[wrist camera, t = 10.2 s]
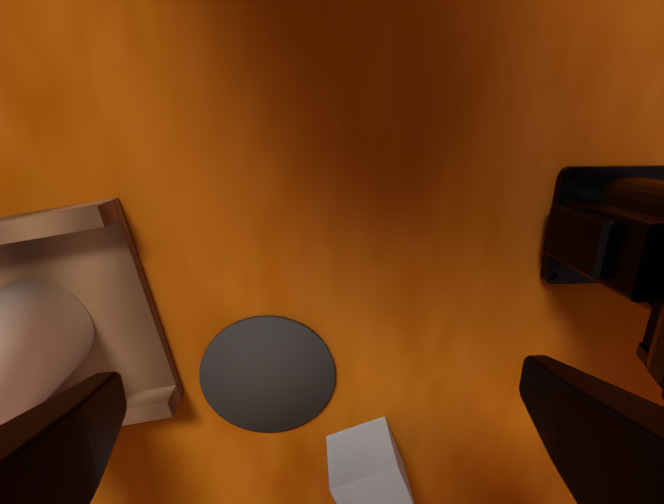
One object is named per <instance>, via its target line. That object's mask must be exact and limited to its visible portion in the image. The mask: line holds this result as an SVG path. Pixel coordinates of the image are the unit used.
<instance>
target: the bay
mask: <svg viewBox="0 0 664 504" xmlns="http://www.w3.org/2000/svg"><path fill="white" fill-rule="evenodd" d="M19 280H38V281H44V282H47V283H51V284H53V285H56V286H58V287H60V288H62V289H64V290H66V291H67V292H69V293H70V294H72V295H73V296H74V297H75V298H76V299H77V300H78V301H79V302H80V303H81V304H82V305H83V306H84V307H85V309H86V310H87V312H88V314H89V315H90V318H91V320H92V323H93V326H94V343H93V346H92V349H91V351H90V353H89V354H88V356H87V357H86V358H85V359H84V360H83V361H82V363H81V364H80V365H79V366H78V367H77V368H76V369H75V370H74V371H73V372H72V373H71V374H70V375H69V376H68V377H67V378H66V379H65V380H64V382H63V383H62V384H61V385H60V386H59V387H58V388H57V389H56V390H55V391H54V392H53V393H52V394H51V395H50V396H49V397H48V398H47V399H46V400H48V399H49V398H51V397H53V396H55V395H57V394H59V393H61V392H62V391H64V390H66V389H68V388H70V387H72V386H73V385H75V384H77V383H79V382H81V381H83V380H85V379H86V378H88V377H90V376H92V375H94V374H96V373H98V372H113V371H116V372H118V373H120V375H121V377H122V381H123V386H124V391H125V396H126V401H127V411H126V415H125V418H124V420H123V423H122V426H125V425H130V424H136V423H142V422H148V421H154V420H159V419H165V418H171V417H173V415H174V413H175V411H176V408H177V406H178V404H179V402H180V400H181V398H182V395H183V393H184V392H183V389H182V386H181V383H180V380H179V377H178V374H177V371H176V368H175V365H174V362H173V359H172V356H171V353H170V350H169V347H168V344H167V341H166V338H165V335H164V332H163V330H162V327H161V324H160V321H159V318H158V315H157V312H156V309H155V306H154V303H153V300H152V297H151V294H150V291H149V288H148V285H147V282H146V279H145V276H144V273H143V270H142V267H141V264H140V261H139V259H138V256H137V253H136V250H135V247H134V244H133V241H132V238H131V235H130V232H129V229H128V226H127V223H126V220H125V217H124V214H123V211H122V208H121V205H120V202H119V199H118V198H113V199H107V200H101V201H95V202H89V203H84V204H78V205H72V206H66V207H60V208H54V209H48V210H42V211H37V212H31V213H25V214H19V215H13V216H7V217H1V218H0V287H2V286H4V285H6V284H8V283H11V282H14V281H19Z"/></svg>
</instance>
